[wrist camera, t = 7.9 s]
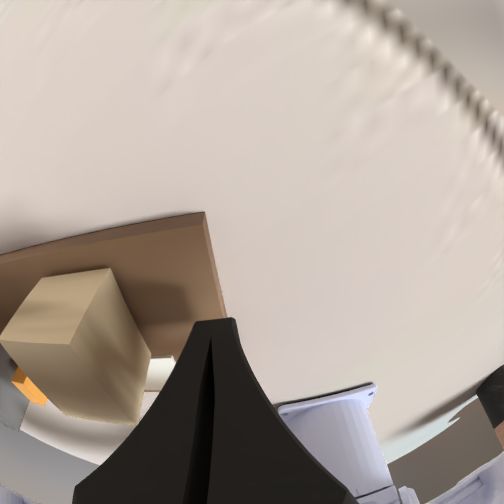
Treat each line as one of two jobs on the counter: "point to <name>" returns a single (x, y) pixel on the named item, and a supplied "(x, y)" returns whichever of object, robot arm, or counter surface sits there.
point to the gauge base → (124, 288)
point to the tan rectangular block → (81, 347)
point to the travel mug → (494, 401)
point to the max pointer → (28, 388)
